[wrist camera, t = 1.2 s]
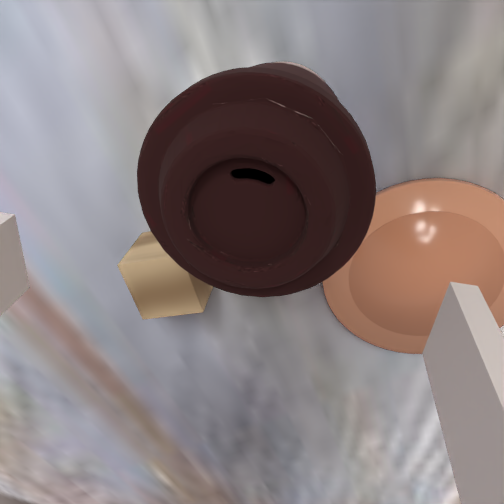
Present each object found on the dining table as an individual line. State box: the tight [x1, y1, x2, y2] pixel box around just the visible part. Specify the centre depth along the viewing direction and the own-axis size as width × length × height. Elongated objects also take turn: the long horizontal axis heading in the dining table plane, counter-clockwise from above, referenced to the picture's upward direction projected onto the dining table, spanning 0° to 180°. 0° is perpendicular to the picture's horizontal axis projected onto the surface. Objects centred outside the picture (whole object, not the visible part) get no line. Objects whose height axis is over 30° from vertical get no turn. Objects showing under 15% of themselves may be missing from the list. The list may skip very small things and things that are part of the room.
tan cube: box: [117, 231, 213, 319], centre depth 34 cm, size 5×5×5 cm
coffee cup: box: [137, 62, 376, 297], centre depth 23 cm, size 10×10×15 cm
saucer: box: [323, 178, 504, 354], centre depth 33 cm, size 15×15×1 cm
